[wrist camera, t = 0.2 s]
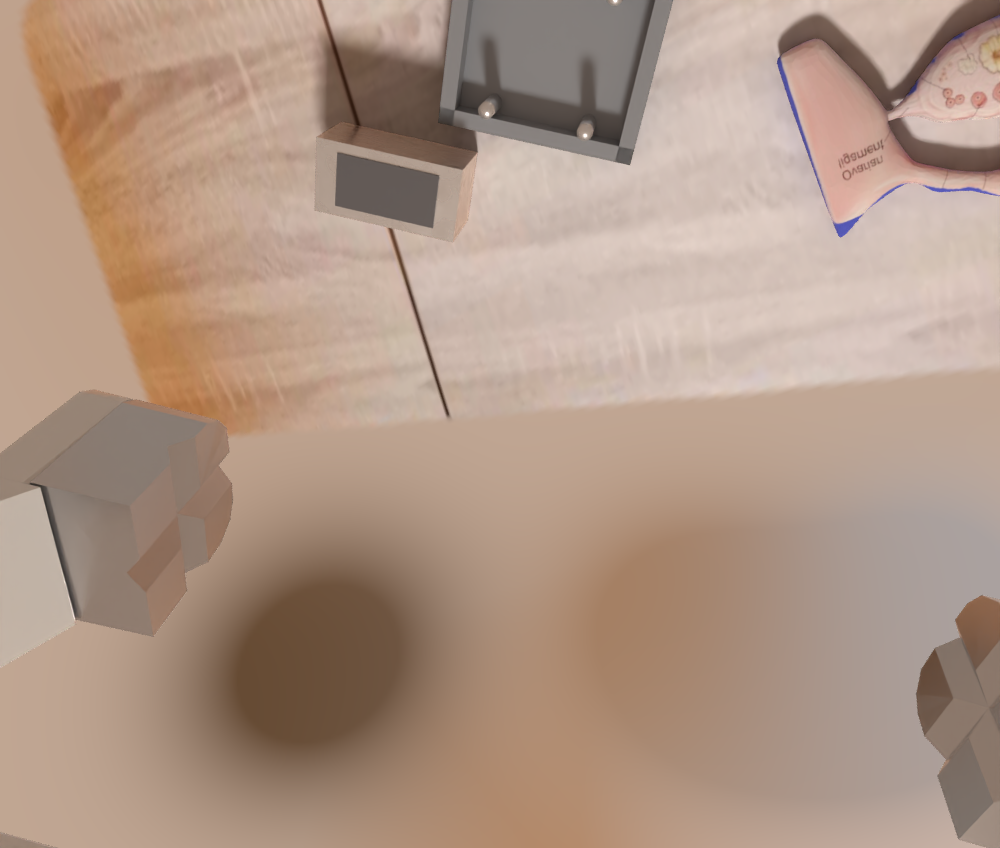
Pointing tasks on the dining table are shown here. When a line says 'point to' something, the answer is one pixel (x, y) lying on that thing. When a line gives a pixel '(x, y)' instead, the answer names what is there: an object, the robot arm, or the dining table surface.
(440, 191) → the block
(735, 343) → the dining table surface
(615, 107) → the pin tray
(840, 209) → the anatomical model
